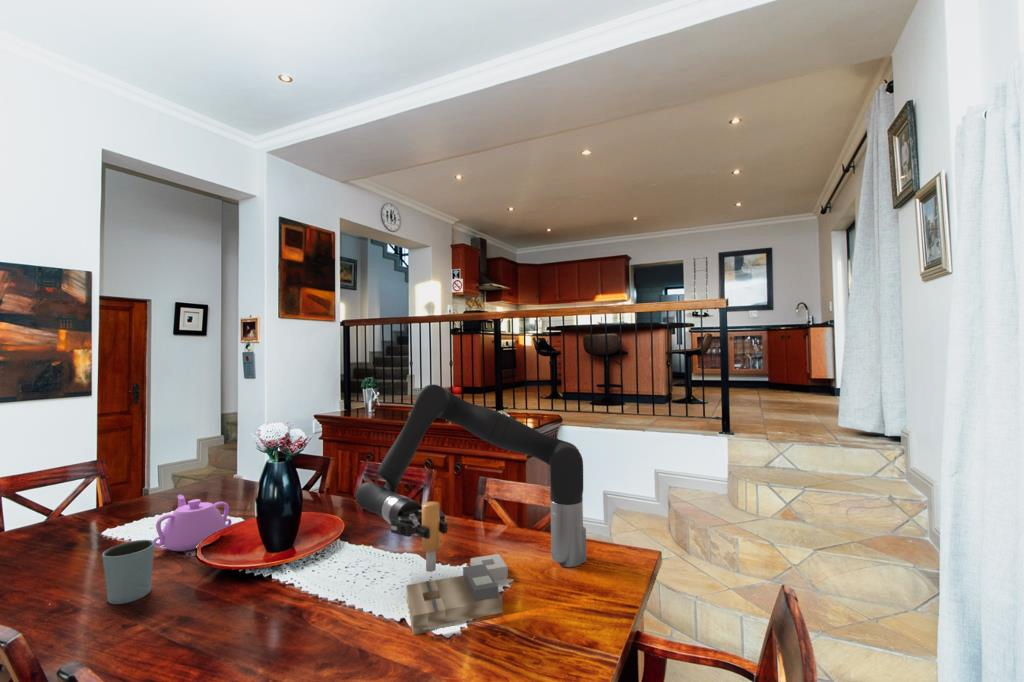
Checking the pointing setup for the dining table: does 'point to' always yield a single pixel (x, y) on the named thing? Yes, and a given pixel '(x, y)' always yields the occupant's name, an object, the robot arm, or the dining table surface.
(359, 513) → the dining table surface
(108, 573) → the grey cup
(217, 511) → the teapot
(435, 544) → the awl
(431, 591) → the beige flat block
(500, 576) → the awl stand
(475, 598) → the block
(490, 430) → the robot arm
